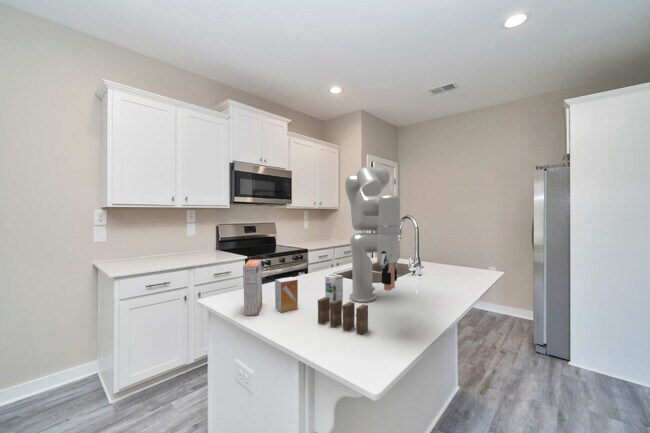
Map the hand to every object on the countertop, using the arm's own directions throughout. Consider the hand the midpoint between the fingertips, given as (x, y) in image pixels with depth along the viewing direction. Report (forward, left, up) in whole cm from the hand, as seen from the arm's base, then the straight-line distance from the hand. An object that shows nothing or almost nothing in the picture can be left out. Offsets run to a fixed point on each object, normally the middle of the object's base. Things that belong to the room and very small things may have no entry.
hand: (389, 281), depth 102 cm
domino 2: (+6, -19, -18) cm, 26 cm away
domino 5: (0, 0, -3) cm, 3 cm away
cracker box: (+12, -57, -18) cm, 61 cm away
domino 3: (+6, -13, -18) cm, 23 cm away
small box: (+3, -46, -18) cm, 50 cm away
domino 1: (+6, -24, -18) cm, 31 cm away
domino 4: (+6, -8, -18) cm, 20 cm away
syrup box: (-9, -29, -18) cm, 35 cm away
